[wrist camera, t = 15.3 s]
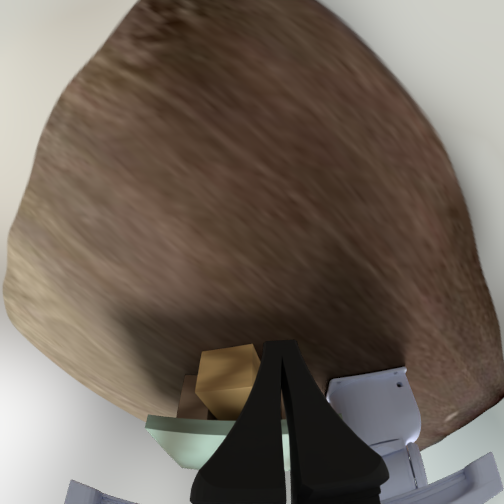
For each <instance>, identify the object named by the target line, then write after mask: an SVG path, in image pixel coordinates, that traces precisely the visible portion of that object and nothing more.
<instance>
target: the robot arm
mask: <svg viewBox="0 0 504 504" xmlns="http://www.w3.org/2000/svg"><path fill="white" fill-rule="evenodd" d="M406 371H407V369H406V367H400V368H395V369H390V370H385V371H380V372H375V373H369V374H363V375H356V376H350V377H343V378H335V379H332V380H331V381H330V383H329V387H328V391H327V394H326V398H325V396H324V395H323V393H322V392H321V390H320V389H319V387H318V385H317V384H316V382H315V380H314V379H313V377H312V375H311V373H310V371H309V370H308V368H307V366H306V364H305V361H304V359H303V357H302V355H301V352H300V350H299V347H298V344H297V341H296V340H281V341H266V342H265V343H264V345H263V354H262V359H261V363H260V366H259V370H258V373H257V376H256V379H255V382H254V384H253V387H252V389H251V392H250V394H249V396H248V399H247V401H246V403H245V405H244V407H243V409H242V411H241V413H240V415H239V417H238V418H237V420H236V422H235V423H234V425H233V427H232V428H231V430H230V432H229V433H228V435H227V436H226V437H225V439H224V440H223V442H222V443H221V444H220V446H219V447H218V448H217V450H216V451H215V452H214V454H213V455H212V456H211V457H210V458H209V459H208V461H207V462H206V463H205V464H204V465H203V466H202V467H201V468H200V470H199V471H198V473H197V475H196V477H195V479H194V482H193V485H192V488H191V495H190V502H191V503H192V504H286V485H285V469H284V455H283V441H282V426H281V411H280V407H281V390H282V396H283V402H284V409H285V415H286V421H287V427H288V435H289V451H290V476H291V504H484V503H485V502H487V501H488V500H489V499H491V498H493V497H494V496H495V495H497V494H498V493H500V492H501V491H502V490H503V485H502V482H501V478H500V475H499V472H498V469H497V465H496V463H495V460H494V456H493V453H492V452H489V453H487V454H486V455H484V456H482V457H480V458H479V459H477V460H475V461H473V462H472V463H470V464H469V465H467V466H466V467H465V468H464V469H462V470H460V471H458V472H456V473H454V474H451V475H449V476H447V477H445V478H443V479H440V480H438V481H436V482H434V483H431V484H428V482H427V477H426V473H425V469H424V465H423V461H422V458H421V454H420V451H419V448H418V445H417V444H415V443H413V442H414V441H416V439H417V438H418V436H419V433H420V430H421V417H420V412H419V409H418V406H417V403H416V401H415V398H414V395H413V393H412V390H411V388H410V385H409V383H408V380H407V378H406V375H405V373H406ZM339 413H342V418H343V420H342V419H341V417H340V416H339V415H338V414H339ZM406 445H407V446H408V450H409V451H408V452H407V448H406ZM408 453H409V455H408ZM409 456H410V459H409ZM414 478H415V479H414ZM415 480H416V483H415ZM416 484H417V486H416ZM64 504H138V503H134V502H130V501H127V500H123V499H120V498H116V497H113V496H110V495H107V494H104V493H102V492H100V491H99V490H97V489H94V488H92V487H89V486H87V485H84V484H82V483H79V482H77V481H74V480H71V481H70V484H69V488H68V491H67V495H66V499H65V503H64Z"/></svg>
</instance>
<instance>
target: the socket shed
mask: <svg viewBox="0 0 504 504" xmlns="http://www.w3.org/2000/svg"><path fill="white" fill-rule="evenodd" d="M197 377H198V375H185V378H184V382H183V387H182V392H181V397H180V402H179V407H178V412H177V417H176V418H173V417H163V416H155V415H148V417H147V421H146V426H145V429H146V430H147V431H148V432H149V433H150V435H151V436H152V437H153V438H154V439H155V440H156V441H157V442H158V444H159V445H160V446H161V447H162V448H163V449H164V450H165V451H166V452H167V453H168V454H169V455H170V456H171V457H172V458H173V459H174V460H175V461H176V462H177V463H178V464H179V465H180V466H181V467H182V468H187V469H197V470H200V468H201V467H202V466H203V465H204V464H205V463H206V462H207V461H208V459H209V458H210V457H211V456H212V455H213V454H214V452H215V451H216V450H217V448H218V447H219V446H220V444H221V443H222V442H223V440H224V439H225V437H226V436H227V435H228V433H229V432H230V430H231V428H232V427H233V425H234V423H235V422H236V421H218V419H217V418H216V417H215V416H214V415H213V414H212V413H211V411H210V410H209V409H208V408H207V407H206V405H205V404H204V403H203V402H202V401H201V399H200V398H199V397H198V396H197V394H196V393H195V388H196V382H197ZM280 411H281V426H282V441H283V455H284V469H285V471H290V451H289V435H288V427H287V421H286V415H285V409H284V402H283V396H282V390H281V407H280ZM338 415H339V416H340V417H341V419H342V420H343V418H342V413H339V414H338Z"/></svg>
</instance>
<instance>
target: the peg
mask: <svg viewBox="0 0 504 504" xmlns="http://www.w3.org/2000/svg"><path fill="white" fill-rule="evenodd" d="M260 363H261V362H260V360H259V357H258V355H257V353H256V350H255V348H254V346H253V344H248V345H242V346H236V347H230V348H223V349H216V350H209V351H202V355H201V360H200V365H199V371H198V377H197V382H196V388H195V393H196V394H197V396H198V397H199V398H200V399H201V401H202V402H203V403H204V404H205V405H206V407H207V408H208V409H209V410H210V411H211V413H212V414H213V415H214V416H215V417H216V418H217V419H218V421H236V420H237V418H238V417H239V415H240V413H241V411H242V409H243V407H244V405H245V403H246V401H247V399H248V396H249V394H250V392H251V389H252V387H253V384H254V382H255V379H256V376H257V373H258V370H259V366H260Z"/></svg>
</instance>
